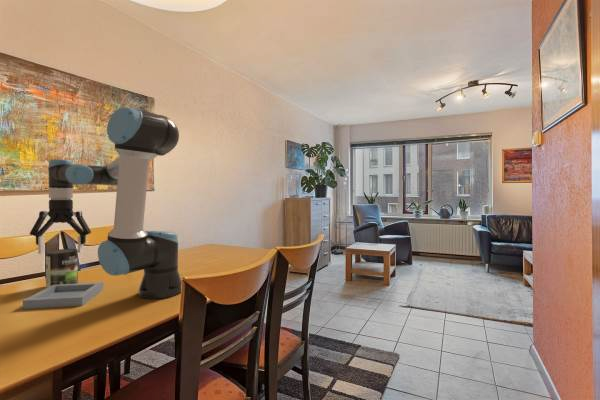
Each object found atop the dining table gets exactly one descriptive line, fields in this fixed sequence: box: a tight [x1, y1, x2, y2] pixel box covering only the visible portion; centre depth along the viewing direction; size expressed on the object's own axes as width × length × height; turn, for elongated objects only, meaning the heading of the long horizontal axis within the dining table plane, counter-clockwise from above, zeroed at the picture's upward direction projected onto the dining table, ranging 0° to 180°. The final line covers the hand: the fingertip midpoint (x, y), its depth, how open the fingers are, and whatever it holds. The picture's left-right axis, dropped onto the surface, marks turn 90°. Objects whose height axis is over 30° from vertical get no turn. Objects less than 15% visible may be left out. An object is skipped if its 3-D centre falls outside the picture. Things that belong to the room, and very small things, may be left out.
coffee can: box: [44, 248, 79, 289], centre depth 124 cm, size 10×10×14 cm
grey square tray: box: [22, 281, 104, 310], centre depth 110 cm, size 17×17×3 cm
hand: (61, 252), depth 124 cm, fingers open, 13 cm apart
